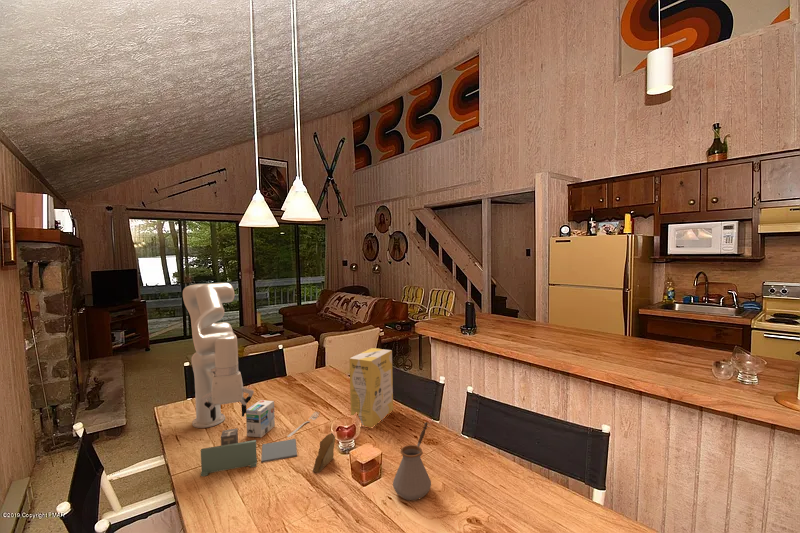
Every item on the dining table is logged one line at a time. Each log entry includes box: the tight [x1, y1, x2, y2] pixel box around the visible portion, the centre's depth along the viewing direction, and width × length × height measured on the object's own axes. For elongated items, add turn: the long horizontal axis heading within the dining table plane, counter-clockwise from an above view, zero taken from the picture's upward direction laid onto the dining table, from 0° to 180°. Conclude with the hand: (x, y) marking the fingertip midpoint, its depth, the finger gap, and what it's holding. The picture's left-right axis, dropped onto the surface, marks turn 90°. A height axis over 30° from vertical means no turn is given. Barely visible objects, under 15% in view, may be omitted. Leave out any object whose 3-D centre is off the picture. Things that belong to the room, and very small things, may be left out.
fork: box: [287, 411, 320, 438], centre depth 157 cm, size 3×24×2 cm, turn 159°
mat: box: [260, 438, 298, 463], centre depth 138 cm, size 12×12×1 cm
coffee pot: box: [392, 421, 432, 501], centre depth 117 cm, size 21×12×15 cm, turn 158°
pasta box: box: [348, 347, 394, 427], centre depth 163 cm, size 18×10×28 cm, turn 153°
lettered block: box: [220, 428, 239, 446], centre depth 136 cm, size 6×5×8 cm
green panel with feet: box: [200, 439, 258, 477], centre depth 127 cm, size 4×17×8 cm, turn 108°
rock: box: [312, 432, 336, 473], centre depth 129 cm, size 11×9×10 cm
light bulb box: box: [245, 399, 276, 438], centre depth 153 cm, size 11×7×11 cm, turn 168°
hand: (228, 417), depth 136 cm, fingers open, 9 cm apart
